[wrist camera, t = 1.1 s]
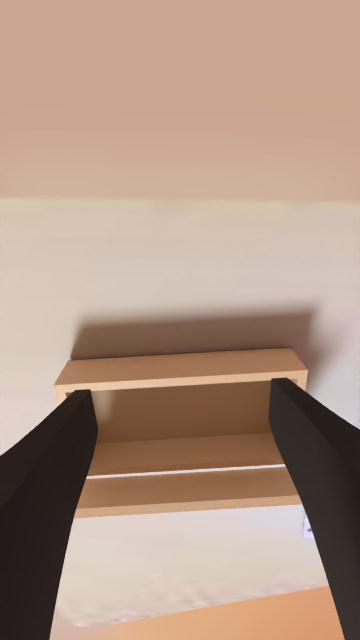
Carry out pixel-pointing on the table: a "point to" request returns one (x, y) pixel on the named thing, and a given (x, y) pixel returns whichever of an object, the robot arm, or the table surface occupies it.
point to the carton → (182, 408)
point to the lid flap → (187, 492)
